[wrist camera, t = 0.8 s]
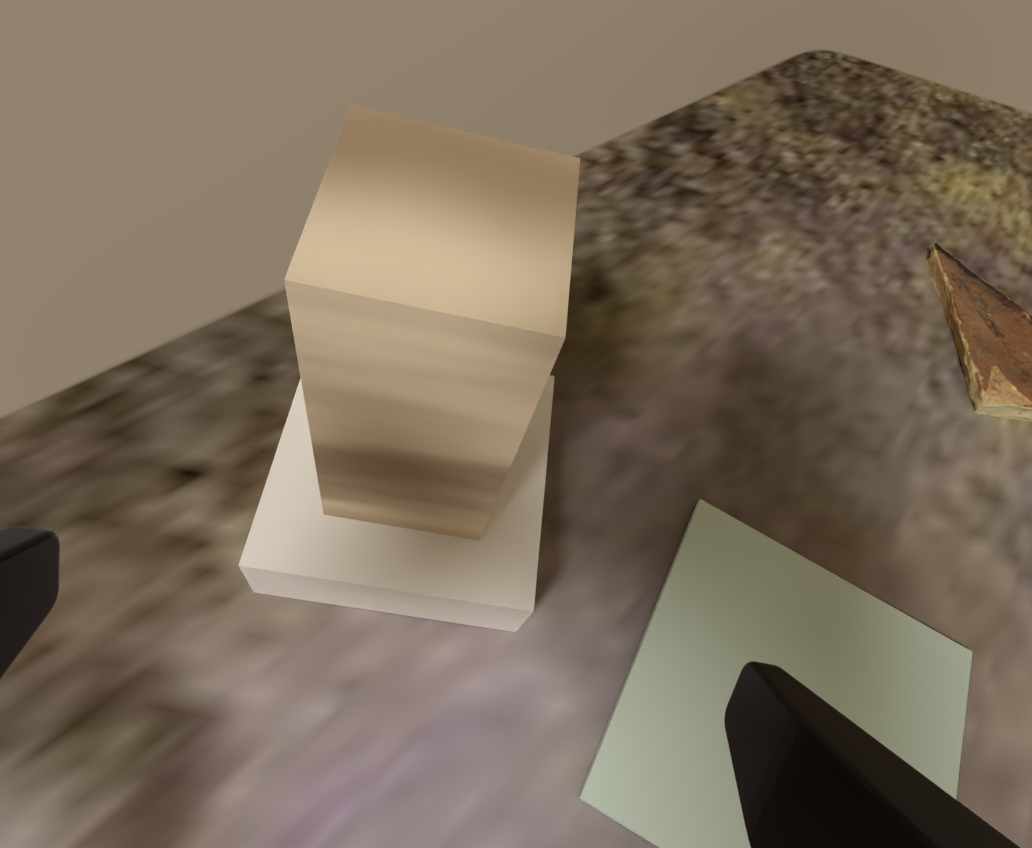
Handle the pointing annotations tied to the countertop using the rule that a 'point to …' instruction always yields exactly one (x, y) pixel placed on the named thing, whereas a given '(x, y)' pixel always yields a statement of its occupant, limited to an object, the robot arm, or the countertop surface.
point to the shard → (986, 338)
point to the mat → (772, 640)
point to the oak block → (428, 316)
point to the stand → (400, 542)
